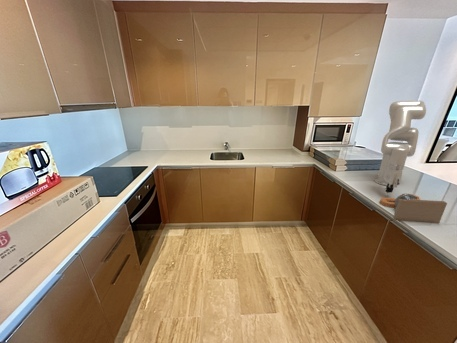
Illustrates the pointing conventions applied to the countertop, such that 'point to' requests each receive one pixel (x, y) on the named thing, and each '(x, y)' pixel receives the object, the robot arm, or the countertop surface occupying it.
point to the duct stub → (418, 209)
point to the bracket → (391, 202)
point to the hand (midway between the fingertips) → (388, 191)
